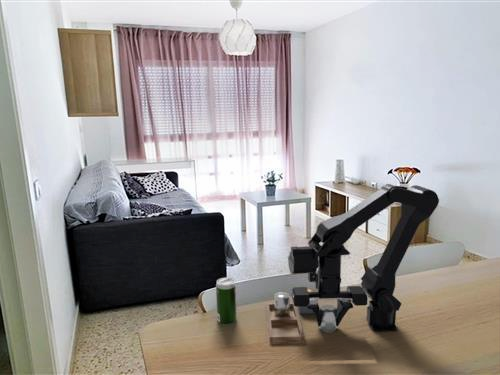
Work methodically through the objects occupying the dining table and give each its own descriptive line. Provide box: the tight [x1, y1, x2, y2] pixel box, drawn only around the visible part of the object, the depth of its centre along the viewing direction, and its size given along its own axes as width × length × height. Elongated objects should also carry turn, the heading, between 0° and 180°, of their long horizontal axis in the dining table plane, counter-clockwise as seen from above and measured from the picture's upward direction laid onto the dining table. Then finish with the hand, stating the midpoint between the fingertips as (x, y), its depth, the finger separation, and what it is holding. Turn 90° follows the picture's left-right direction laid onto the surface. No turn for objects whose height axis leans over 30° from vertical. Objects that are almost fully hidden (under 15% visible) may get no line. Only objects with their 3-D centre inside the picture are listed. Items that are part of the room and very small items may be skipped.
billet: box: [318, 304, 337, 334], centre depth 102 cm, size 4×4×6 cm
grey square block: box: [297, 307, 314, 315], centre depth 112 cm, size 5×5×4 cm
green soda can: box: [215, 277, 238, 326], centre depth 106 cm, size 5×5×12 cm
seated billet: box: [273, 291, 291, 317], centre depth 108 cm, size 4×4×6 cm
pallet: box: [265, 302, 306, 345], centre depth 105 cm, size 9×18×2 cm, turn 0°
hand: (327, 325), depth 102 cm, fingers closed on billet, 4 cm apart
